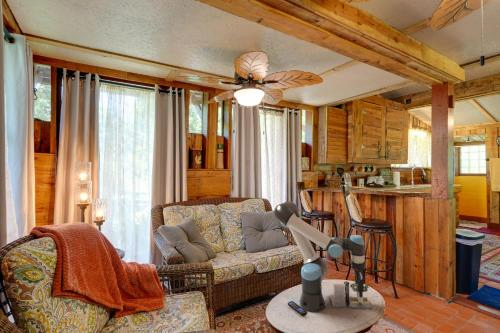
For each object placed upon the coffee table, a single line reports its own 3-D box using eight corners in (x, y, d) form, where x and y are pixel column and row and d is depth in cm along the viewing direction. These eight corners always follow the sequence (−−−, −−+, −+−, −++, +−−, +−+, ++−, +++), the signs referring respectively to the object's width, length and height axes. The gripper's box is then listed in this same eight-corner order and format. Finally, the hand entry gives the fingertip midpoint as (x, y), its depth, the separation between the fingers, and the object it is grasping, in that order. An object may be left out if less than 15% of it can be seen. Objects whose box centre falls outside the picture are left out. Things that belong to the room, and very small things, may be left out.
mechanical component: (369, 302, 161) (368, 285, 161) (351, 302, 163) (350, 285, 163) (368, 300, 164) (367, 283, 164) (350, 299, 166) (349, 283, 166)
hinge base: (333, 307, 160) (332, 286, 160) (330, 298, 172) (329, 278, 172) (371, 309, 157) (370, 287, 157) (365, 299, 169) (364, 278, 169)
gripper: (368, 266, 155) (370, 307, 155) (361, 257, 171) (362, 294, 171) (354, 266, 156) (356, 307, 156) (348, 257, 172) (350, 294, 172)
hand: (360, 300), depth 163 cm, fingers closed on mechanical component, 3 cm apart
